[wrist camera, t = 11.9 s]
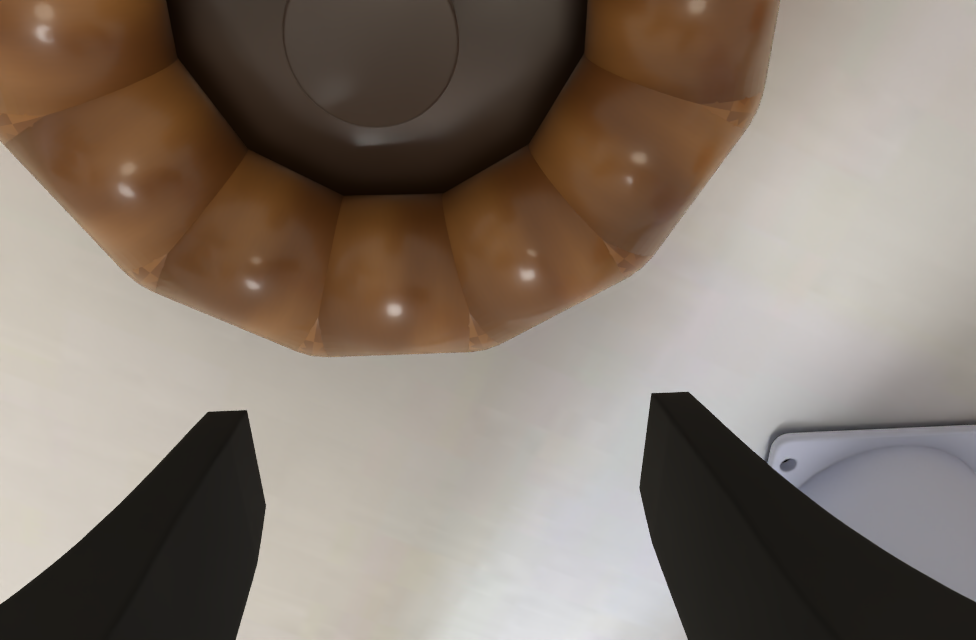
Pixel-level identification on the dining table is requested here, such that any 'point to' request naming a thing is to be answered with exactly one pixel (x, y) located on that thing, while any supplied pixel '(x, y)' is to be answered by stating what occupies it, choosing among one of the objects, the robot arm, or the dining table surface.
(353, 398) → the dining table surface
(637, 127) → the ring
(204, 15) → the stand
